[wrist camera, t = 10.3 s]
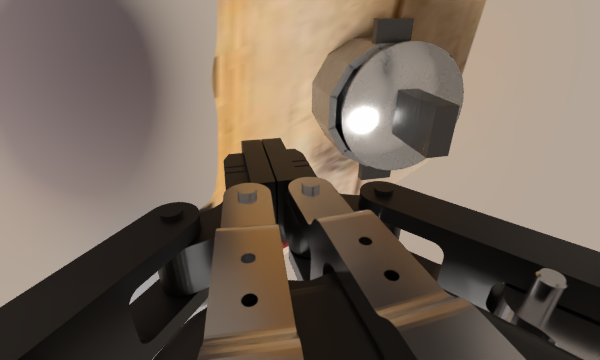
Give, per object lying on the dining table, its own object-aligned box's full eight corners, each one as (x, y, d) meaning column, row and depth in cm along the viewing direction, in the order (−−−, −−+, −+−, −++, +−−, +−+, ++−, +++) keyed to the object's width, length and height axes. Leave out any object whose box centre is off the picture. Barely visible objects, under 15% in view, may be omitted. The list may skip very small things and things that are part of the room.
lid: (345, 41, 33) (380, 51, 26) (472, 39, 36) (533, 47, 29) (336, 173, 39) (362, 207, 33) (444, 161, 42) (487, 191, 36)
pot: (314, 16, 38) (333, 19, 32) (423, 16, 41) (460, 18, 35) (310, 163, 46) (325, 186, 40) (400, 154, 49) (426, 175, 43)
